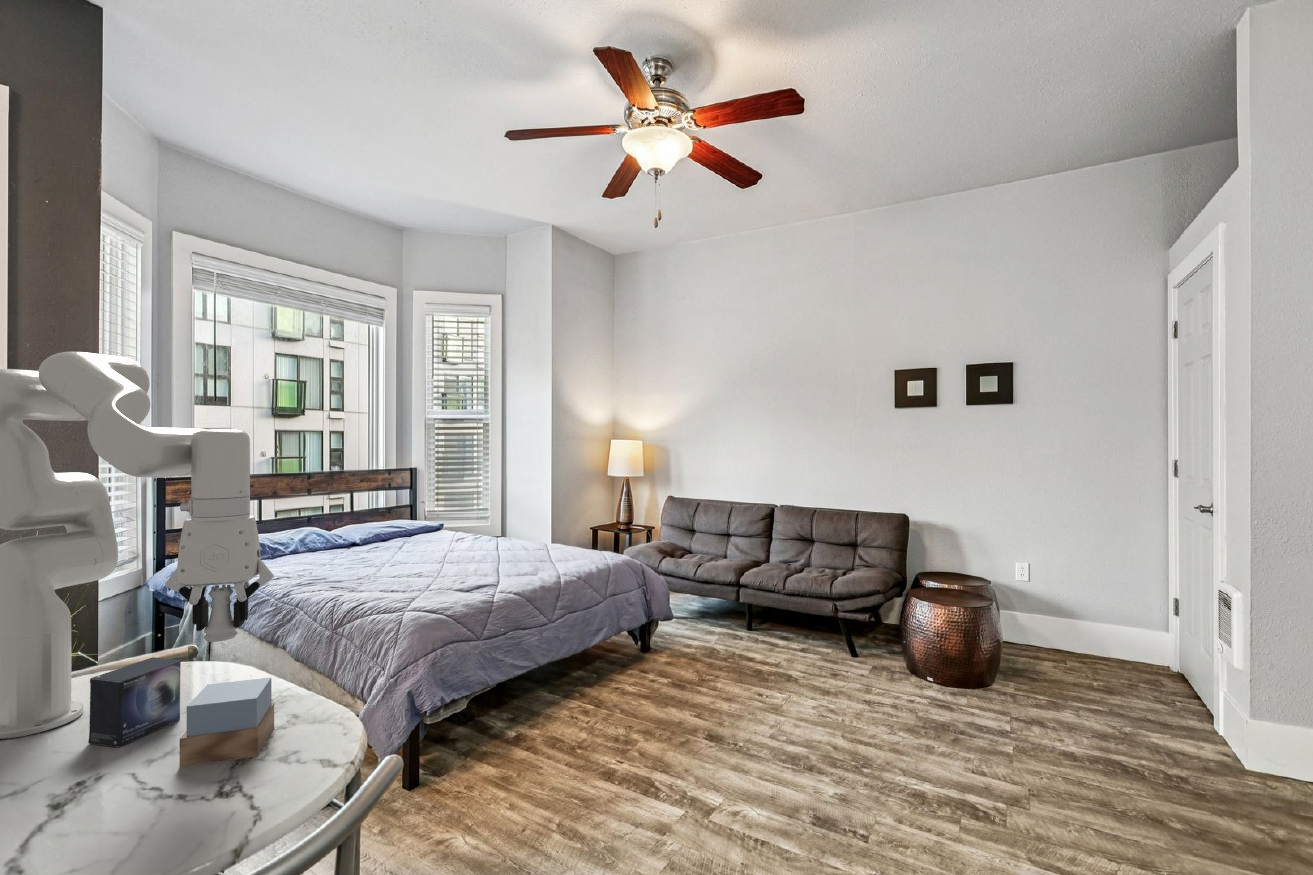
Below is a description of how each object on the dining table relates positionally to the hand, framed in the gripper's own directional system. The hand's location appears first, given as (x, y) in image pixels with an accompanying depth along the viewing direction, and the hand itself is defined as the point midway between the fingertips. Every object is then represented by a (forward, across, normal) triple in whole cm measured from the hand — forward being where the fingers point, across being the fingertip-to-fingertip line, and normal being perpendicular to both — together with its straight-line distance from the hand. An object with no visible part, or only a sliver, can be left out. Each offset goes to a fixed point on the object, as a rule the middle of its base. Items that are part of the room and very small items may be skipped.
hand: (220, 625), depth 99 cm
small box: (+20, -15, +12) cm, 27 cm away
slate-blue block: (+15, +1, +1) cm, 15 cm away
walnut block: (+20, +1, +1) cm, 20 cm away
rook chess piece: (+2, 0, 0) cm, 2 cm away
